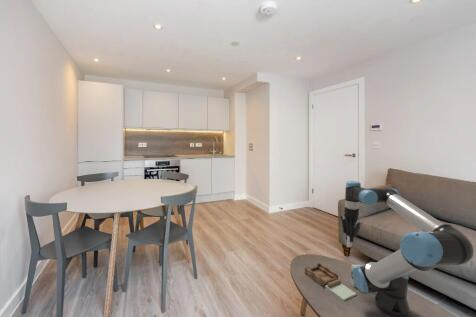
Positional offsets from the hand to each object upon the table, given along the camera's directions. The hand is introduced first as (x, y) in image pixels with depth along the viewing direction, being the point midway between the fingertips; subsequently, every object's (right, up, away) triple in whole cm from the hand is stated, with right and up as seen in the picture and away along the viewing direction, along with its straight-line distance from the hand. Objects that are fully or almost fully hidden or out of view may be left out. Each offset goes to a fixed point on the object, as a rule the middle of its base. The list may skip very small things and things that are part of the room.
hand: (349, 246), depth 131 cm
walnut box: (-13, -23, +9) cm, 29 cm away
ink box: (+7, -25, +2) cm, 26 cm away
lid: (-7, -25, -3) cm, 26 cm away
